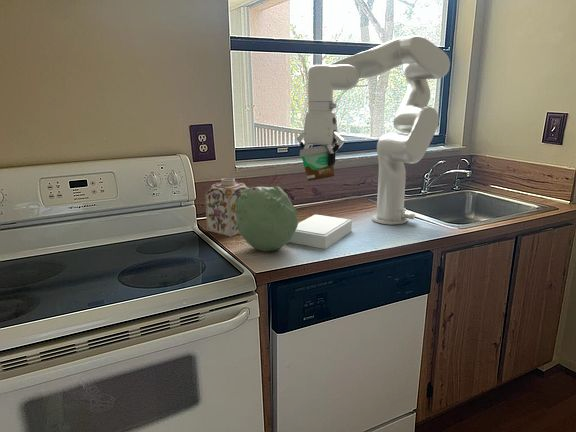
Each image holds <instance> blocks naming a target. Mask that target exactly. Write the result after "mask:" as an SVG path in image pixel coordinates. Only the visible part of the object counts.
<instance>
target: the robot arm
mask: <svg viewBox="0 0 576 432" xmlns="http://www.w3.org/2000/svg"><path fill="white" fill-rule="evenodd" d="M402 65H403V74H404V76H405V77H404V78H405V80H406V93H405V95H404V97H403V100H402V101H401V103H400V105H399V107H398V109H397V111H396V113H395V116H394V119H393V124H392V125H393V126H394V129H395V130H397V131H399V132H400V133H399V132H388V133H385V134H383V135H381V136H380V138H379V139H378V141H377V144H376V153H377V159H378V161H377V162H378V175H377V176H378V179H377V181H378V183H377V197H376V198H377V200H376V213H374V214H372V215H371V219H372V221H374V222H375V223H378V224H383V225H391V226H392V225H394V226H395V225H402V224H405V223H407V222H408V220H415V219H416V214H415V213H414V212H410V211H409V212H408V211H407V208H406V207H405V191H406V177H407V176H406V175H407V174H406V172H407V171H406V167H405V163H406V164H413V165H414V164H417V163H418V162H420V161H421V160H422V159H423V158H424V156H425V154H426V153H427V150H428V148H429V147H430V144H431V142H432V140H433V138H434V136H435V134H436V132H437V129H438V127H439V114H438V111H437V110H436V109H435V108H434V107H432V106H428V104H429V103H430V99H431V89H430V86H429V84H428V80H437V79H439V80H440V79H442V78H443V77H445V76H447V75H448V73H449V72H450V67H451V61H450V58H449V56H448V54H447V53H446V52H445V51H443V49H441V48H439V47H438V45H435V44H434V43H433V42H432V41H431V40H428V39H427V38H426V37H423V36H421V35H409V36H402V37H396V38H394V39H391V40H389V41H386V42H384V43H382V44H379V45H377V46H375V47H372V48H370V49H368V50H365V51H364V50H363V51H361V52H358V53H356V54H353V55H350V56H347V57H344V58H342V59H338V60H336V61H333V62H332V63H329V64H313V65H311V66H309V68H308V69H307V70H308V72H307V79H308V80H307V81H308V84H307V97H308V99H307V101H308V103H307V104H308V106H307V108H308V109H307V111H306V114H305V118H304V124H303V132H301V134H299V136H297V138H296V141H297V143H298V144H299V146H300V147H301V149H302V150H303V149H307V148H312V147H313V146H314V145H315V146H323V145H327V147H328V149H329V151H330V153H329V154H328V166H335V163H336V153H337V152H338V151H339V150H340V149H341V148H342V146H343V144H344V143H345V141H346V140H345V139H344V138H343V137H342V136H341V135H340V134H339V133H338V132H339V131H338V130H339V129H338V121H337V120H338V119H337V115H336V111H334V109H337V103H335V102H334V91H348V90H351V89H353V88H355V87H356V86H357V85H358V83H359V81H360V79H367V78H372V77H376V76H380V75H382V74H384V73H386V72H388V71H391V70H393V69H395V68H398V67H400V66H402ZM335 144H336V145H335Z"/></svg>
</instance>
